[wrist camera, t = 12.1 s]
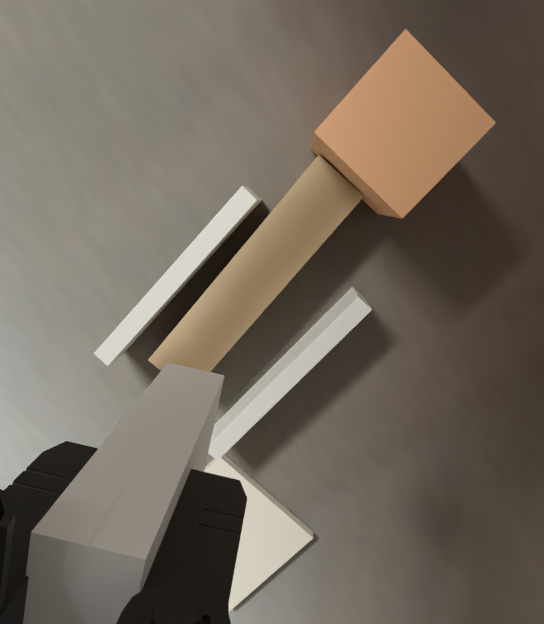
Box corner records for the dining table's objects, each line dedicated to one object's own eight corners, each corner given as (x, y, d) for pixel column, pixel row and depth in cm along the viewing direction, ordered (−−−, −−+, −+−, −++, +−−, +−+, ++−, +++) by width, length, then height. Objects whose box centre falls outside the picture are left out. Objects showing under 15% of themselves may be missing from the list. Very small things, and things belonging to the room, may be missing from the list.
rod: (162, 344, 30) (147, 360, 27) (316, 159, 27) (318, 154, 24) (201, 375, 30) (190, 394, 27) (357, 196, 27) (364, 195, 24)
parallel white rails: (114, 338, 29) (93, 353, 26) (248, 187, 27) (242, 185, 24) (225, 435, 30) (217, 460, 27) (364, 298, 28) (372, 309, 25)
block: (311, 149, 26) (314, 132, 20) (377, 74, 25) (405, 28, 19) (377, 213, 27) (402, 218, 20) (445, 143, 26) (496, 122, 19)
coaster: (140, 530, 32) (137, 536, 32) (220, 451, 31) (219, 456, 30) (230, 604, 33) (229, 611, 33) (313, 531, 31) (313, 537, 31)
